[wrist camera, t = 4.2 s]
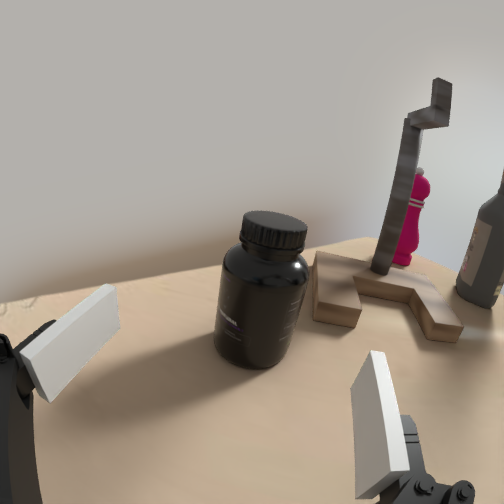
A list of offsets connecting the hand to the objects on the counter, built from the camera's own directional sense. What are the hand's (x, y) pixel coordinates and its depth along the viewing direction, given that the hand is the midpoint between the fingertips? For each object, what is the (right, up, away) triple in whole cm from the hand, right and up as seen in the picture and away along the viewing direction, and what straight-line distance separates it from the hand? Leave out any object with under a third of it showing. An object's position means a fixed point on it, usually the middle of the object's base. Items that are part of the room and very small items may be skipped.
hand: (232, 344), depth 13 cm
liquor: (+44, -4, +29) cm, 53 cm away
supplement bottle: (+1, -4, +12) cm, 13 cm away
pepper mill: (+31, +3, +42) cm, 52 cm away
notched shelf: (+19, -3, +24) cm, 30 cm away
